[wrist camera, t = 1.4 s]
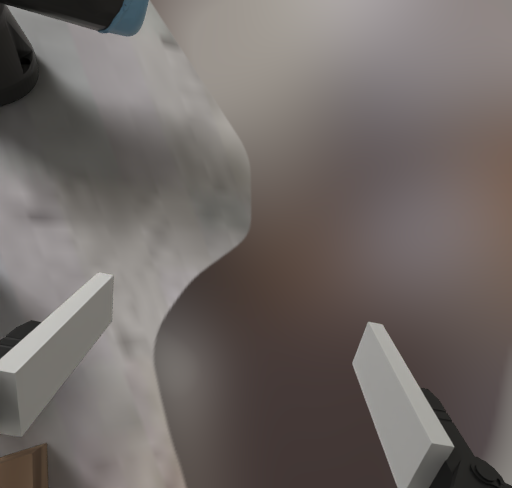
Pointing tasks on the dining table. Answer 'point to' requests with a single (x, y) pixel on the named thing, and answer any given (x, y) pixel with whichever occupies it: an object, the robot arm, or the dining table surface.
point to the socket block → (25, 468)
